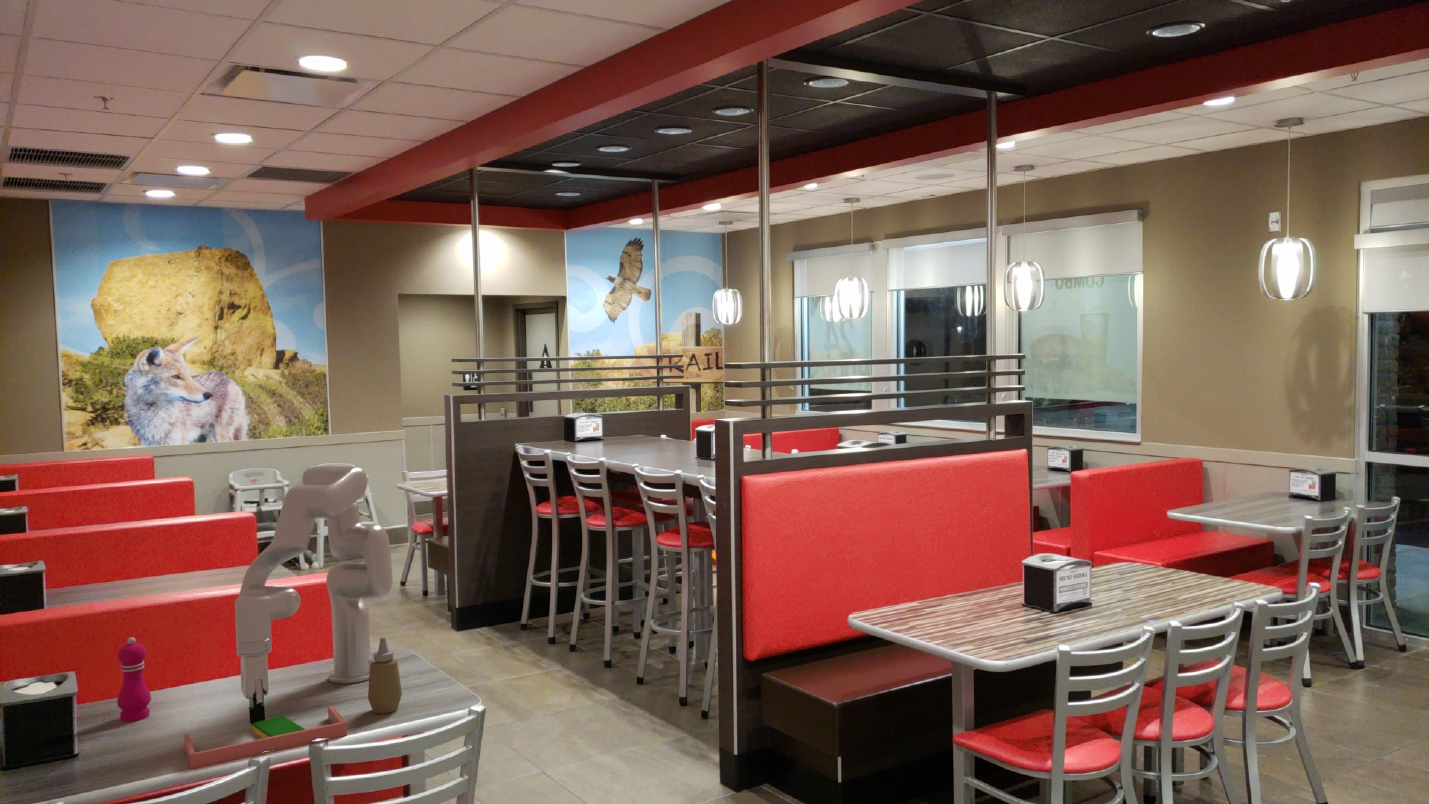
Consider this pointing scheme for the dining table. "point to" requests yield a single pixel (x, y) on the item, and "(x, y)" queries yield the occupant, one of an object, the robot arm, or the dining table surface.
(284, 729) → the dish sponge
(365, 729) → the dining table surface
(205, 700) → the dining table surface
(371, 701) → the squeeze bottle
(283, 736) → the pink u-shaped bracket
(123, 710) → the pepper mill
